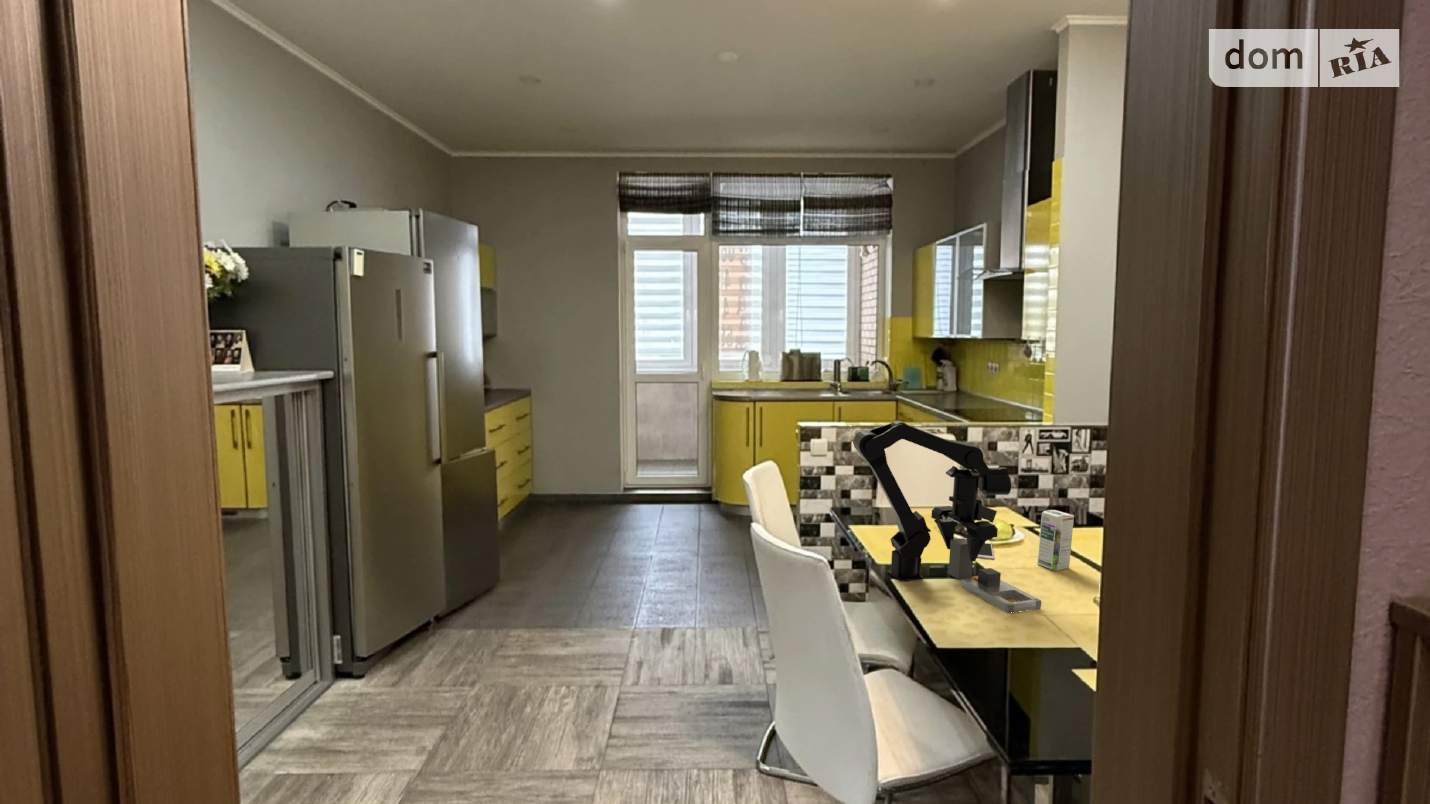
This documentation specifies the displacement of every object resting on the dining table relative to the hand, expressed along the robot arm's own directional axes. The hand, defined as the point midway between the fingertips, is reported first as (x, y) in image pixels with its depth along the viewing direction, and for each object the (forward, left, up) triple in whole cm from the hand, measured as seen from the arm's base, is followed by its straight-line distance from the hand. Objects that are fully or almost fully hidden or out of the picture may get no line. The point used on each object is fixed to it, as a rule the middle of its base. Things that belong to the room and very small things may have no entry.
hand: (960, 554), depth 184 cm
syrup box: (+29, -1, -6) cm, 29 cm away
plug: (0, 0, -6) cm, 6 cm away
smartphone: (+19, +16, -6) cm, 25 cm away
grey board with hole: (0, -15, -6) cm, 16 cm away
